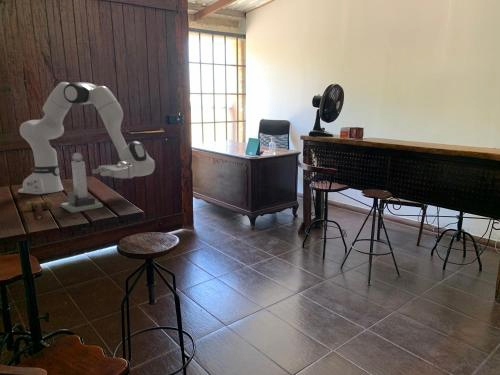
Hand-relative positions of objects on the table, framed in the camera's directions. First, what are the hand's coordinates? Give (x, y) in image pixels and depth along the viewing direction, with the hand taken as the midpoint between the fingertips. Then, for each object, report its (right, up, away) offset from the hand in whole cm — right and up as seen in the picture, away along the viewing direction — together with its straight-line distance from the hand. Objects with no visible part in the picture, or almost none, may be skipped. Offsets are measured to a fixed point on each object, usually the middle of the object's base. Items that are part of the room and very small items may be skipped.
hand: (96, 173), depth 183 cm
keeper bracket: (-6, -16, -2) cm, 17 cm away
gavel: (-20, -19, -13) cm, 31 cm away
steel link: (-6, -15, -2) cm, 16 cm away
